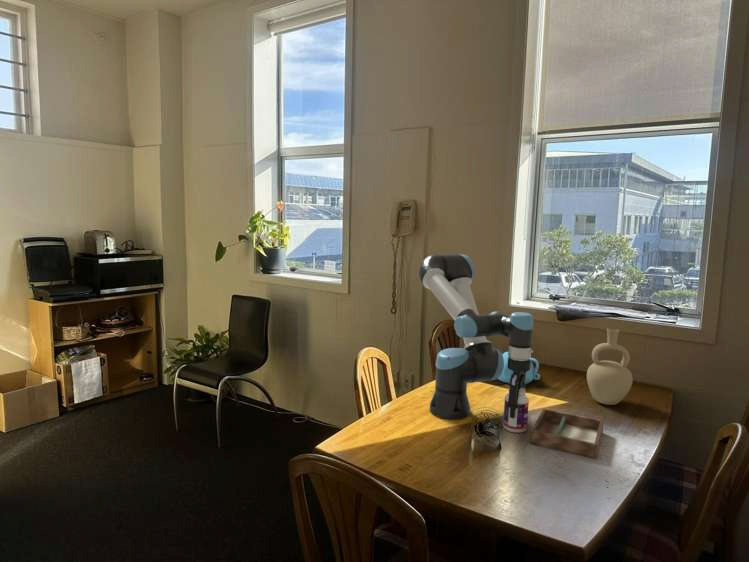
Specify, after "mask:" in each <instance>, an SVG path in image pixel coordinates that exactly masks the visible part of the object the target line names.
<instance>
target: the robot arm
mask: <svg viewBox="0 0 749 562" xmlns="http://www.w3.org/2000/svg"><path fill="white" fill-rule="evenodd" d="M417 271H418V278H419V281H420V283H421V284H422V285H423V286H424V288H425V289H428V290H430V291H431V293H432V294H433V295H434V297H436V299H437V300H438V302H439V303H440V304H441V305H442V307H444V309H445V310H446V311H447V312H448V314H449V315H450V316H451V317H452V319H453V320H454V323H453V328H454V330H455V334H456V335H457V337H459V338H463V342H464V346H463V348H461V347H449V348H444V349H441V350H440V351H439V352H438V354H437V355H436V358H435V359H436V360H435V384H434V392H433V394H432V398H431V400H430V403H429V412H430V414H433V415H434V416H435V417H438V418H442V419H448V420H459V419H465V418H467V417H469V416H470V415H471V404H470V399H469V397H468V394H467V388H468V387H467V386H468V384H472V383H473V384H474V383H482V382H491V381H495V380H499V379H498V378H499V377H500V376H501V374H502V372H503V369H504V358H503V353H502V352H501V351H500V350H499V349H498V348H494V345H493V343H492V341H490V340H488V339H487V337H491V336H504V337H506V338H508V347H507V348H508V350H507V352H508V356H509V358H508V366H507V367H508V368H509V369H510V370H512V371H513V374H512V375H511V378H510V384H509V388H510V389H509V388H508V394H509V398H508V405H507V407H508V408H509V418H508V426H513V427H517V412H518V408H517V403H518V396H519V390H520V389H521V388H524V389H525V390H526V384H525V379H526V372H527V371H529V370H530V364H531V362H532V361H531V360H530V358H532V354H533V353H534V350H533V349H532V344H533V333H534V316H533V314H531V313H530V312H524V311H523V312H522V311H515V312H511V314H507V313H505V312H502V311H492V312H491V313H489V314H480V313H479V311H478V308H477V303H476V302H475V301H476V300H475V298H474V295H473V291H472V289H471V284H472V283H473V278H474V276H475V265H474V262H473V261H472V259H471V258H470V257H469V256H468V255H466V254H460V253H455V254H432V255H431V254H430V255H428V256H427V257H425V258H424V259H422V261H421V262H420V265H419V266H418V270H417Z"/></svg>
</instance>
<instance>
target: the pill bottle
mask: <svg viewBox="0 0 749 562" xmlns="http://www.w3.org/2000/svg"><path fill="white" fill-rule="evenodd" d="M509 389H510V387H509V388H508V390H509ZM508 398H509V393H507V394H506V395H505V396H504V405H503V406H504V407H503V420H502V421H503V424H502V425H503V428H504V429H505V430H506V431H508V432H511V433H517V434H518V433H519V434H520V433H525V432H526V431H527V430H528V429H527V428H528V417H529V416H528V415H529V404H530V403H529V402H530V399H529V397H528V396H527V395H526V388H525V389H524V388H521V389H520V390H519V396H518V403H517V408H518V412H517V427H513V426H508V418H509V408H508V407H507V405H508Z"/></svg>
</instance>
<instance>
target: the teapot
mask: <svg viewBox="0 0 749 562" xmlns="http://www.w3.org/2000/svg"><path fill="white" fill-rule="evenodd" d="M502 355H503V358H504V369H503V372H502V374H501V376H500V377H499V378H498V379H497V380H498V381H500V382H502V383H506V384H508V385H510V378H511V375H512V374H513V371H512V370H510V369H509V368H508V367H507V366H508V358H509V356H508V351H505V352H504V353H502ZM530 360H531V364H530V370H529V371H527V372H526V379H525V385H527V384H530V383H531V382H532V381H533V380H535V381H537V380H540V378H541V375H540V374H539V373H537V372H538V371H539V368H540V367H539V366H540V362H539V361H538V360H537V359H536V358H534V357H531V358H530ZM532 361H533V362H534V363H535V368H534V365H533V362H532Z"/></svg>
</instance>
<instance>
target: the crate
mask: <svg viewBox="0 0 749 562" xmlns="http://www.w3.org/2000/svg"><path fill="white" fill-rule="evenodd" d="M604 422H605V420H603V419H598V418H593V417H587V416H584V415H583V416H582V415H578V414H573V413H568V412H562V411H558V410H554V409H548V408H543V409H542V410H541V412H540V415H539V416H538V417H537V419H536V421H535V423H534V425H532V428H531V429H530V438H529V444H530V445H533V446H537V447H538V446H539V447H542V448H547V449H550V450H551V449H552V450H556V451H560V452H565V453H568V454H572V455H576V456H582V457H585V458H590V459H593V460H594V459H595V460H597V459H598V454H599V451H600V447H601V443H602V442H601V441H602V437H603V434H604V432H603V431H604Z"/></svg>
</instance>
